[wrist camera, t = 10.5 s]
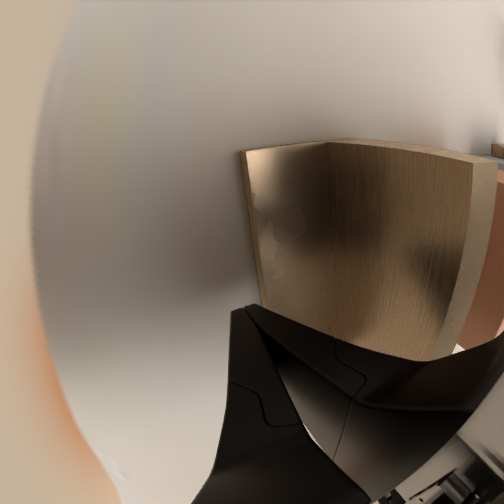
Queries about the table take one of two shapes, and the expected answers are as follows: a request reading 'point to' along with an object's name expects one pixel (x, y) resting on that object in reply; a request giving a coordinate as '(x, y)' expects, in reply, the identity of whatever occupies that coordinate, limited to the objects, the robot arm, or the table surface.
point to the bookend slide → (371, 239)
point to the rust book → (489, 284)
